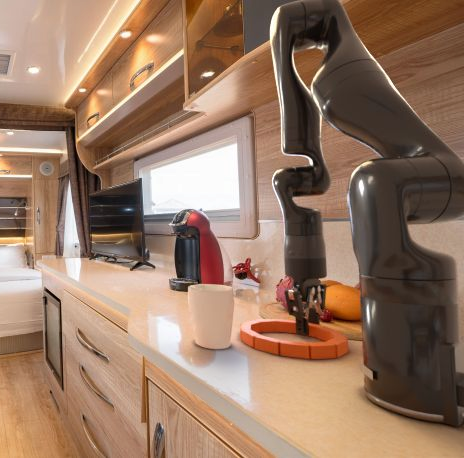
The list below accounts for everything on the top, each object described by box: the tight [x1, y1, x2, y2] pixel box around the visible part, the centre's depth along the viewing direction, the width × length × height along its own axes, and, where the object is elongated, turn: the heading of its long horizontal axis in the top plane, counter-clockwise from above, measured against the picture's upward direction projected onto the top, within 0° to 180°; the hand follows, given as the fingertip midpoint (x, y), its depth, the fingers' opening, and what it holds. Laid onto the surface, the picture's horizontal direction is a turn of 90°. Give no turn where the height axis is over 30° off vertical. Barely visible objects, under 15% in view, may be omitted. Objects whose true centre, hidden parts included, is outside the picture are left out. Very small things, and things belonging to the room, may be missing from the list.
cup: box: [187, 283, 235, 350], centre depth 70 cm, size 9×9×12 cm
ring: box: [239, 318, 349, 360], centre depth 69 cm, size 18×18×2 cm
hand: (308, 332), depth 73 cm, fingers open, 4 cm apart
